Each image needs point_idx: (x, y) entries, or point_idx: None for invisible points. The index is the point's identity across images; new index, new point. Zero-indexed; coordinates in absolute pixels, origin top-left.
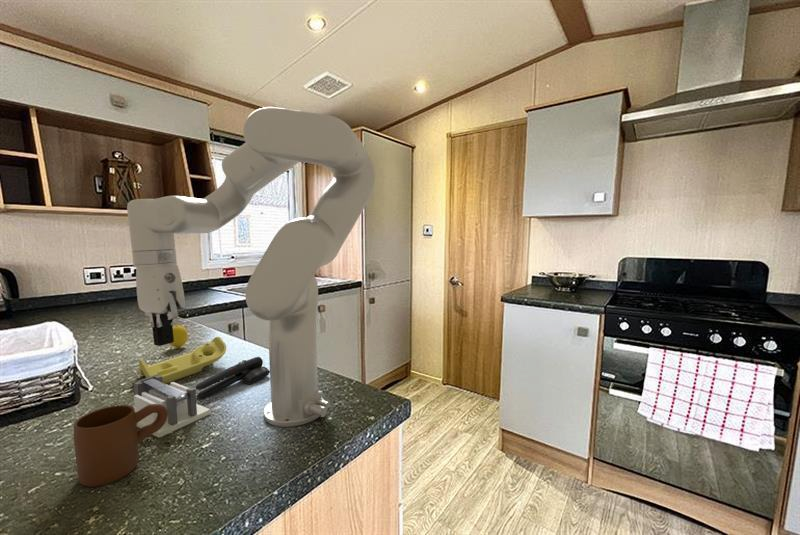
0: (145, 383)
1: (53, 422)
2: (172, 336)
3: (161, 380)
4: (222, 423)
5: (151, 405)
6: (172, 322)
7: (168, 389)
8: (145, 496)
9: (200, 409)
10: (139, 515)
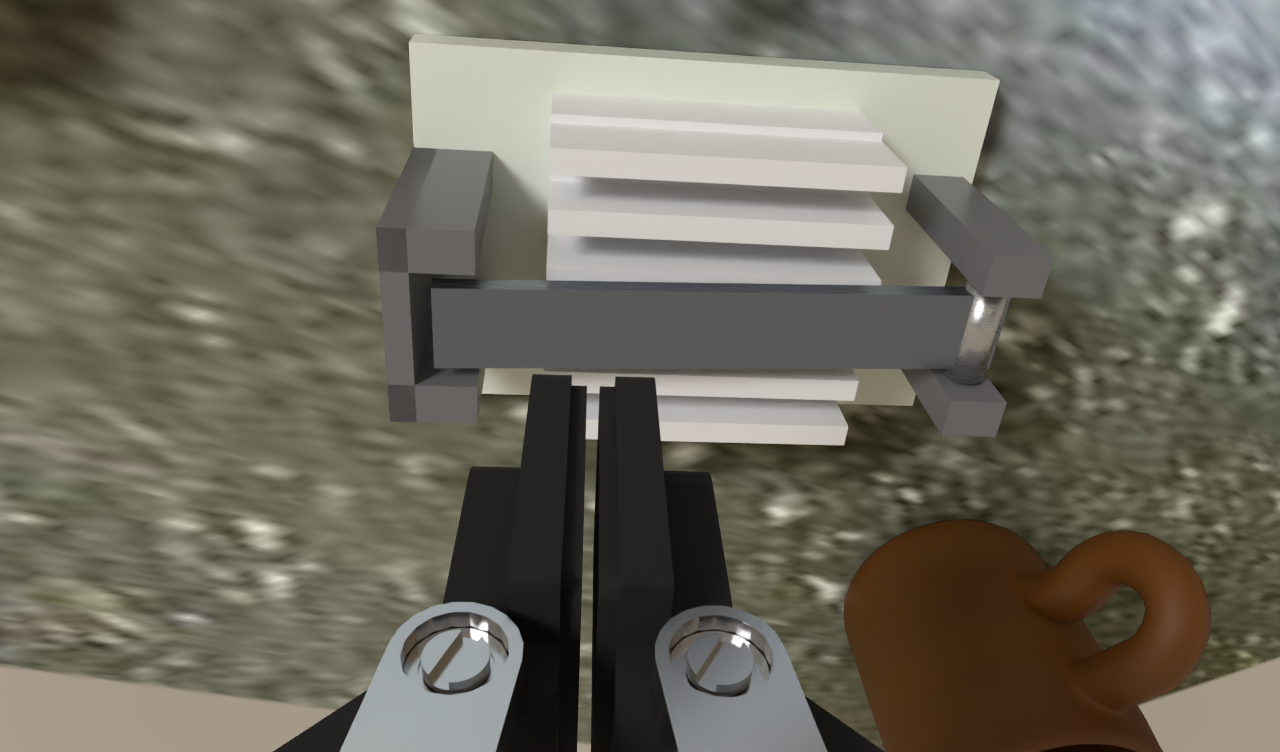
0: (484, 365)
1: (150, 558)
2: (654, 435)
3: (477, 224)
4: (1168, 120)
5: (1182, 678)
6: (780, 664)
7: (773, 323)
8: (1208, 589)
9: (926, 116)
10: (1261, 629)
